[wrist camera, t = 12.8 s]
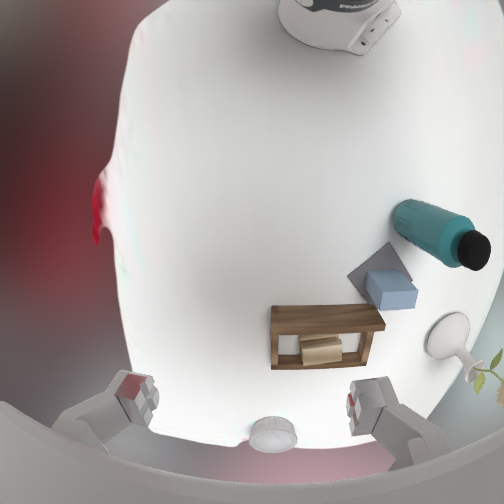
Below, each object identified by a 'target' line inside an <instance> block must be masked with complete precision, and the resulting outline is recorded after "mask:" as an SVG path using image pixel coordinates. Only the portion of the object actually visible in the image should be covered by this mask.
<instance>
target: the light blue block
mask: <svg viewBox="0 0 504 504" xmlns="http://www.w3.org/2000/svg"><path fill="white" fill-rule="evenodd" d="M365 288H366V290H367V291H368V293H369V295H370V296H371V298H372V299H373V301H374V303H375V304H376V306H377V307H378V309H379V311H385V310H399V309H412V308H415V303H416V299H417V295H418V289H417V288H416V287H415V286H414V285H413V284H412V283H411V282H410V281H409V280H408V279H407V278H406V277H405V276H404V275H403V274H402V273H401V272H400V271H399V270H383V271H367V275H366V283H365Z"/></svg>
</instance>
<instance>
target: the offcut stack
mask: <svg viewBox="0 0 504 504" xmlns="http://www.w3.org/2000/svg"><path fill="white" fill-rule="evenodd" d="M338 338H339V334H319V335H299V339H300V351H301V357H302V361H303V366H307V365H315V364H323V363H330V362H337V361H342V342H341V339H339V340H338Z"/></svg>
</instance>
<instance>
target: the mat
mask: <svg viewBox="0 0 504 504" xmlns="http://www.w3.org/2000/svg"><path fill="white" fill-rule="evenodd" d="M383 270H399V271H400V272H401V273H402V274H403V275H404V276H405V277H406V278H407V279H408V280H409V281H410V282H412V281H413V280H412V278H411V276H410V275H409V273H408V271H407V270H406V268H405V266H404V265H403V263H402V261H401V260H400V258H399V256H398V255H397V253H396V252H395V250H394V248H393V247H392V245H391V244H390V242H388V243H387V244H386V245H385V246H383V247H382V248H381V249H380V250H379V251H377V252H376V253H375V254H374V255H373V256H371V257H370V258H369V259H368V260H366V261H365V262H364V263H363V264H361V265H360V266H359V267H358V268H356V269H355V270H354V271H353V272H351V273H350V274H349V275H347V276H348V278H349V279H350V280H351V282H352V283H353V284H354V286H355V287H356V288H357V289H358V291H359V292H360V293H361V295H362V296H363V297H364V299H365V300H366V302H367V303H368V304H369V305H373V304H374V305H375V307H376V309H378V307H377V306H376V304H375V303H374V301H373V299H372V298H371V296H370V295H369V293H368V291H367V290H366V288H365V283H366V275H367V271H383Z"/></svg>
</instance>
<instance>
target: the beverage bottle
mask: <svg viewBox="0 0 504 504" xmlns="http://www.w3.org/2000/svg"><path fill="white" fill-rule="evenodd" d="M423 202H424V201H421V202H420V200H419V201H417V200H405V201H404V202H402V203H401V204H400V205H399V206H398V207H397V209H396V211H395V214H394V225H395V229H396V230H397V231H398V232H397V233H399V234H400V235H401V236H403V237H404V238H406V239H407V241H408V240H409V242H410V241H411V242H412V244H413V245H414V244H415V246H416V245H417V246H418V247H420V248H421V249H423V250H424V251H426V252H427V253H429V254H431V256H432V255H433V256H434V257H436V258H437V259H439V260H440V261H441V262H443V263H444V264H445V265H446V266H448V267H451V268H456V267H460V266H462V265H463V266H464V267H466V268H469V269H471V270H473V271H478V270H480V269H482V268H483V267H484V266H485V265H486V263H487V262H488V260H489V257H490V253H491V245H490V242H489V240H488V238H487V237H486V236H484V235H482V234H481V233H480V232H478V231H476V230H475V227H474V225H473V223H472V222H471V220H470V219H469V218H467V217H465V216H462V215H458V214H455V213H453V212H450V211H448V210H444V209H442V208H441V207H440V208H439V207H436V206H437V205H436V206H433V205H432V204H431V205H430V203H429V204H427V202H426V203H423ZM403 237H402V238H403ZM411 242H410V243H411ZM417 246H416V247H417ZM423 250H422V251H423Z"/></svg>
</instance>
